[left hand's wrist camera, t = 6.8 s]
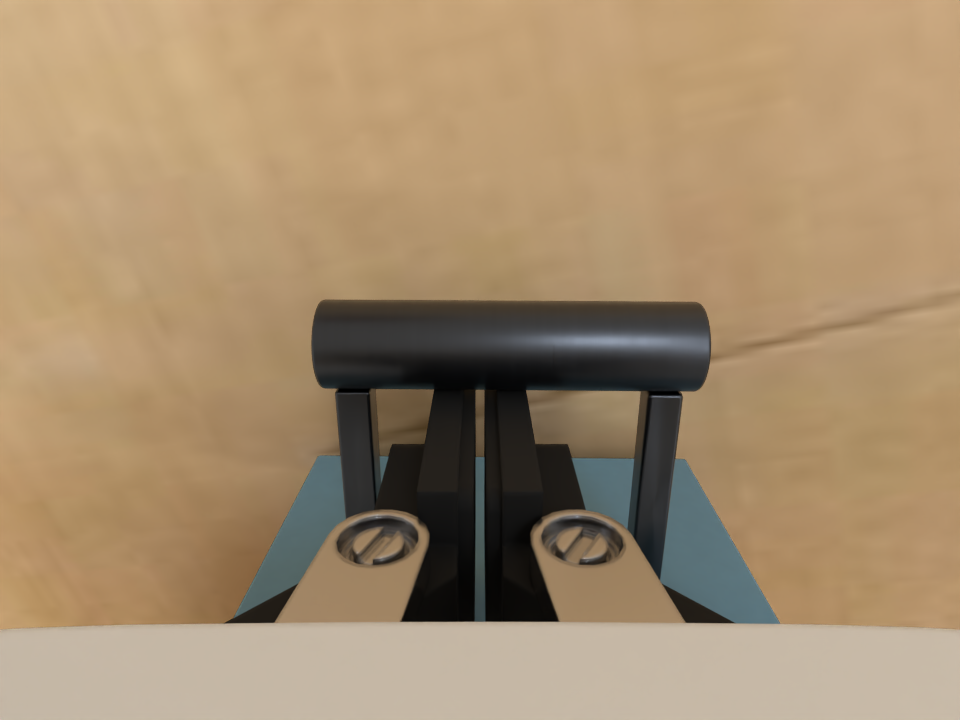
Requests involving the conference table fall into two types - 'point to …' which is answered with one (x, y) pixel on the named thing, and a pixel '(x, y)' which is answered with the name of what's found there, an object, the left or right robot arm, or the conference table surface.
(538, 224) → the conference table surface
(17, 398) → the conference table surface
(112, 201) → the conference table surface
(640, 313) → the drawer
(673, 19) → the conference table surface
